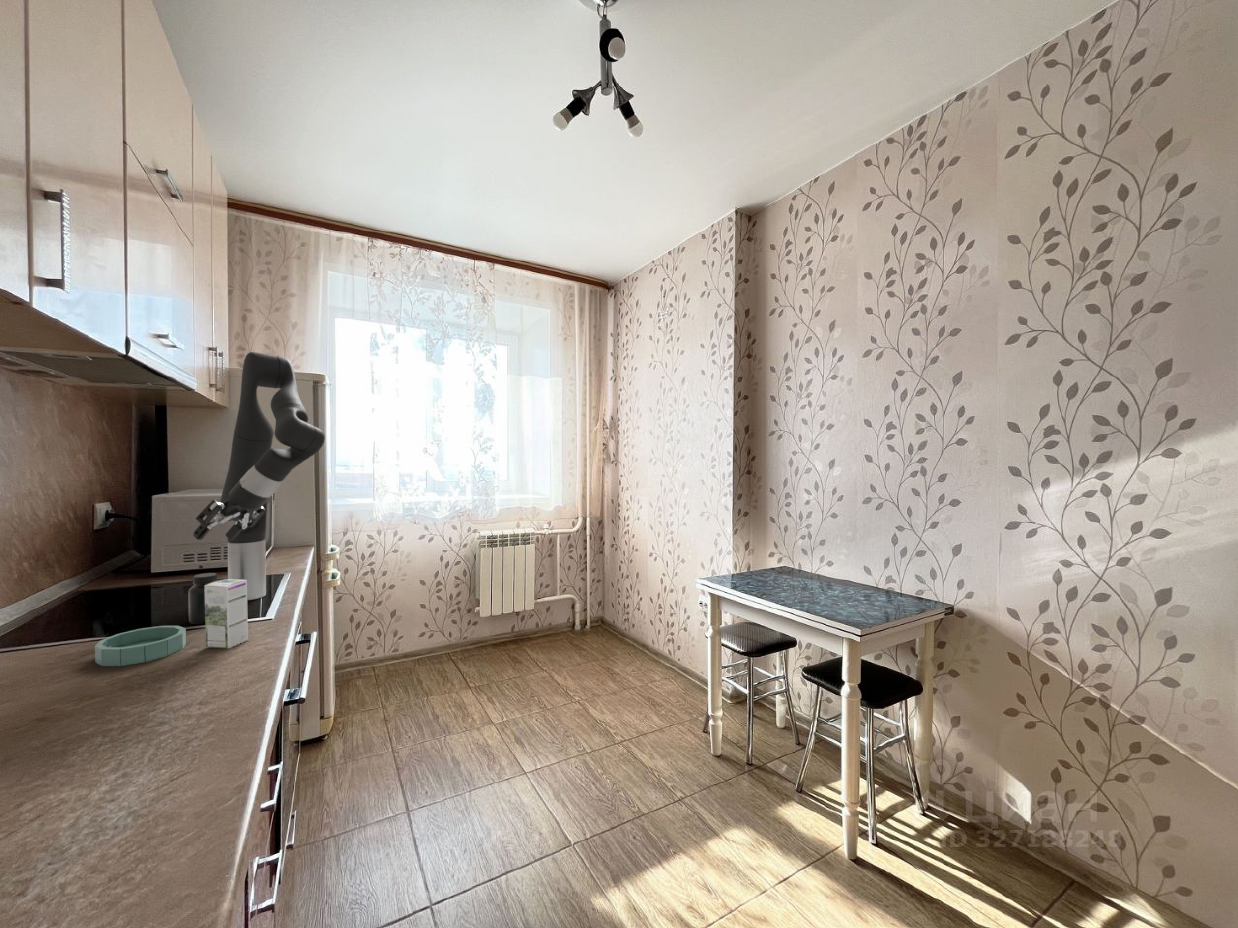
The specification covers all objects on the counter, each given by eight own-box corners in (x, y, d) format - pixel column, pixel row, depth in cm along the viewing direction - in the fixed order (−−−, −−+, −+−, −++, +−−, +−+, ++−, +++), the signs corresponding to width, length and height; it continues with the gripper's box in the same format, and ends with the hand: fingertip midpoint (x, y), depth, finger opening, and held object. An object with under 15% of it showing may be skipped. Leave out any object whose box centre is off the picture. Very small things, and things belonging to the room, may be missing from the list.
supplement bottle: (182, 623, 129) (181, 576, 129) (210, 614, 136) (209, 570, 135) (201, 625, 127) (200, 578, 127) (229, 617, 134) (228, 572, 133)
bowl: (109, 648, 112) (109, 632, 112) (190, 636, 120) (190, 621, 120) (85, 671, 100) (85, 654, 100) (177, 656, 108) (176, 640, 108)
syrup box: (249, 639, 118) (248, 578, 117) (227, 649, 112) (226, 585, 112) (227, 638, 118) (226, 577, 118) (204, 648, 112) (203, 584, 112)
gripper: (270, 480, 132) (229, 528, 131) (221, 473, 118) (175, 527, 117) (288, 498, 130) (247, 547, 129) (241, 493, 116) (194, 548, 116)
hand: (213, 537), depth 123 cm, fingers open, 8 cm apart
